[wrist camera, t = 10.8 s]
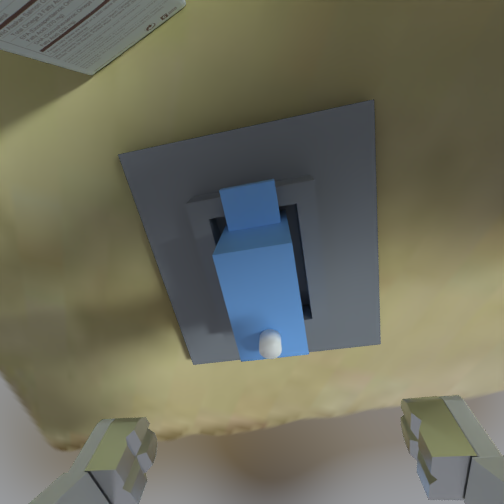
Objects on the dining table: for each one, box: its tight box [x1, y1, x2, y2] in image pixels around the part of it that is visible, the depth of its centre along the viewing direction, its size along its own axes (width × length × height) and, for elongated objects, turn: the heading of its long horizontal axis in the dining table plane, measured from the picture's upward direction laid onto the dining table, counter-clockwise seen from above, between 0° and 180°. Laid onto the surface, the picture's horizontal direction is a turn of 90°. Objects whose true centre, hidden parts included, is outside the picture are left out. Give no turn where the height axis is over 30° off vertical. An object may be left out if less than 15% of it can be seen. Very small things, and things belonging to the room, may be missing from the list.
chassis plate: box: [118, 99, 381, 365], centre depth 20 cm, size 16×18×3 cm
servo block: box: [212, 179, 309, 362], centre depth 18 cm, size 4×12×7 cm, turn 11°
